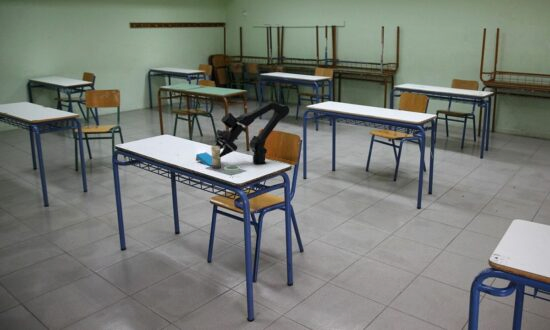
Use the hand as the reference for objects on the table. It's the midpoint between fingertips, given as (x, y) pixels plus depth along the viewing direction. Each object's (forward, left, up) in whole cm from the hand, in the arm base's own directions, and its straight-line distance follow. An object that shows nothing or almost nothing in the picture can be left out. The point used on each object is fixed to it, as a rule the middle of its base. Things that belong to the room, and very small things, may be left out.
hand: (216, 155), depth 263 cm
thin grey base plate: (-4, +5, -8) cm, 11 cm away
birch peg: (0, 0, -7) cm, 7 cm away
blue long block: (+4, -13, -9) cm, 17 cm away
